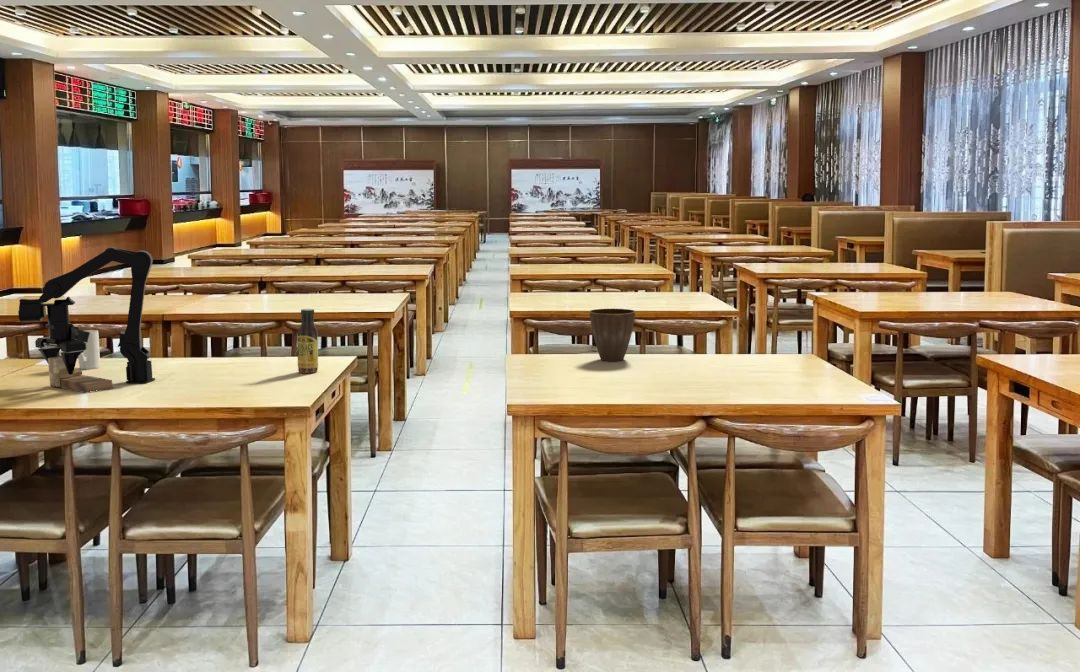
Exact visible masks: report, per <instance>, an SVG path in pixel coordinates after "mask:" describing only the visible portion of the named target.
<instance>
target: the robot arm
mask: <svg viewBox="0 0 1080 672" xmlns="http://www.w3.org/2000/svg"><path fill="white" fill-rule="evenodd" d="M111 262H116V263H119V264H124V265H127V266H130V273H131V281H132V283H131V289H130V290H131V291H130V298H129V307H128V315H127V323H126V328H125V331H124V330H121V331H120V332H119V333H118V335H119V336H118V337H119V343H118V344H117V347H118V348H119V352H120V354H121V356H123V357H124V358H126V360H127V362H126V366H125V374H126V376H125V377H126V380H125V381H124V382H125V384H147V383H150V382H152V381H155V380H156V378H155V377H153V368H152V367H153V366H152V365H153V364H152V360H149V358H150V355H151V352H150V351H149V350H148V349H146V348H145V347H144V346H143V340H142V339H143V336H142V330H141V325H142V324H141V323H142V318H143V317H142V315H143V310H144V309H143V308H144V300H145V294H146V293H145V292H146V286H147V285H146V284H147V280H148V278H149V274H150V272H151V268H152V265H153V262H154V259H153V255H152V254H151V253H150V252H148V251H147V250H138V251H131V250H127V249H120V248H117V247H114V246H111V247H108V248H106V249H105V250H104V251H103V252H101V253H99V254H98V255H96V256H95V257H93V258H91V259H90V260H87V262H84V263H83V264H81V265H80V266H78V267H76V268H75V269H73V270H72V271H71V270H70V271H69V272H66V273H63V274H60V275H58V276H55V277H53V278H51V279H49V280H47V281H46V282H45V284H44V287H43V292H42V294H41V295H40V296H39V298H20V299H19V305H18V310H17V311H18V313H17V314H18V319H19V322H20V323H34V322H37V323H38V322H42V321H43V319H45V318H46V317H47V323H46V324H45V329H48V336H42V337H37V338H36V340H35V341H34V344H35V348H37V349H38V351H39V352H40V354H41V355H42V357H43V358H44V360H45V361H46V363H47V364H48V358H52V357H59V356H58V354H60V356H62V359H63V361H64V364H65V366H66V369H67V371H68V374H69V375H71V374H73V372H75V368H76V362H77V361H78V360H77V359H78V356H79V355H80V354H81V353H83V352H84V350H86V343H85V342H88V338H89V335H90V332H86V331H85V330H83V329H82V330H81V329H80V328H79V326H74V324H73V323H71V322H70V313H69V306H73V305H75V304H76V301H74V300H73V299H72V298H71V297H70V296H66V298H64V299H59V298H61V297H63V296H65V295H66V294H67V293H68V292H69V291H70V290H71V289H73V288H74V287H75V286H76V285H77V284H78V283H79V282H80V281H82V280H84V279H86V278H87V277H88V276H91V275H92V274H93V273H95V272H97V271H99V270H100V269H102V268H103V267H105V266H106V265H108V264H110V263H111ZM52 299H54V302H50V301H51V300H52ZM47 302H48V303H47ZM49 302H50V303H49ZM60 350H61V351H60Z"/></svg>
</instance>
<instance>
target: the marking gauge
mask: <svg viewBox="0 0 1080 672" xmlns="http://www.w3.org/2000/svg"><path fill="white" fill-rule="evenodd" d="M47 364H48V375H49V386H51V385H52V386H51V387H55V386H57V387H56V388H59V387H58V386H60V379H61V378H67V377H73V376H75V375H83V370H76V371H75V370H74V372H73V374H71V375H69V374H68V371H67V369H66V366H65V364H64V361H63V359H62V356H61V355H60V356H58V357H52V358H48V363H47Z"/></svg>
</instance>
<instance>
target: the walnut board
mask: <svg viewBox="0 0 1080 672" xmlns="http://www.w3.org/2000/svg"><path fill="white" fill-rule="evenodd" d="M60 387H62V388H61V389H65V388H66V390H70V389H72V390H71V391H75V390H77V391H76V392H80V391H83V392H82V393H85V392H89V393H91V392H90V391H95V392H97V391H96V390H101V391H104V390H103V389H107V390H111V389H110V388H113V380H112V379H107V378H102V377H97V376H91V375H85V374H81V375H75V376H73V377H67V378H61V379H60V386H58V387H57V386H56V388H60Z"/></svg>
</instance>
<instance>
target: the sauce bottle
mask: <svg viewBox="0 0 1080 672" xmlns="http://www.w3.org/2000/svg"><path fill="white" fill-rule="evenodd" d="M300 315H301V321H300V322H301V324H300V328H299V329H298V331H297V332H298V333H297V369H298V370H297V371H298V372H299V373H300V374H313V373H317V372H318V368H319V339H318V337H319V335H318V334H319V333H318V329H317V327H316V326H315V318H314V315H315V309H314V308H302V309H300Z"/></svg>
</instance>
